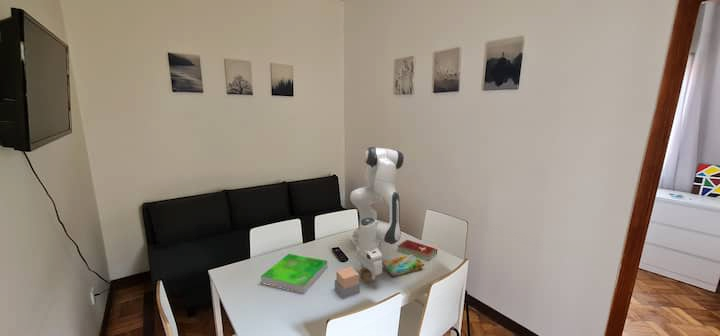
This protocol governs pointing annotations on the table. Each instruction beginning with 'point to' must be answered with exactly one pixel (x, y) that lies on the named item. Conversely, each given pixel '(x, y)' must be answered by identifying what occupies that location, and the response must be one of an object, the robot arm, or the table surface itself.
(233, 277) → the table surface
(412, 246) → the hardcover book
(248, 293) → the table surface
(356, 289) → the tower base
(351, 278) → the block
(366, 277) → the walnut block
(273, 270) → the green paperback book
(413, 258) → the puzzle game
